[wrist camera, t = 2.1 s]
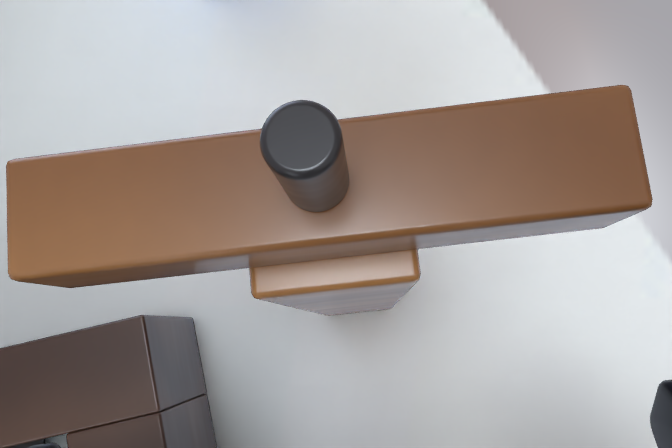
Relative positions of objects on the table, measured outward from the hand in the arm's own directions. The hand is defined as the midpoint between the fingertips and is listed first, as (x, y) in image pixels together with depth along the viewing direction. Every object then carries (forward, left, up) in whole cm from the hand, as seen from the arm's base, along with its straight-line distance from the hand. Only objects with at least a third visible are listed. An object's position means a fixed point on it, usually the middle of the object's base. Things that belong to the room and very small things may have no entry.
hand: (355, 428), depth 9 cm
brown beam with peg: (+3, 0, -11) cm, 11 cm away
